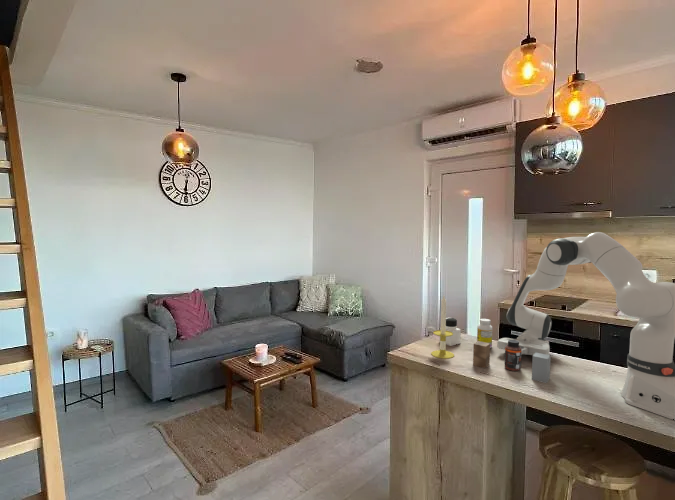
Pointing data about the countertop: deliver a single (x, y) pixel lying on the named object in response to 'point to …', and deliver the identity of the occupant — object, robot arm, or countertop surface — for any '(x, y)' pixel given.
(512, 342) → the supplement bottle
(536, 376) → the slate block
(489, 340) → the supplement bottle
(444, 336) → the candle
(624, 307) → the robot arm
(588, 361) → the countertop surface
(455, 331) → the medicine bottle
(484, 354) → the walnut block
